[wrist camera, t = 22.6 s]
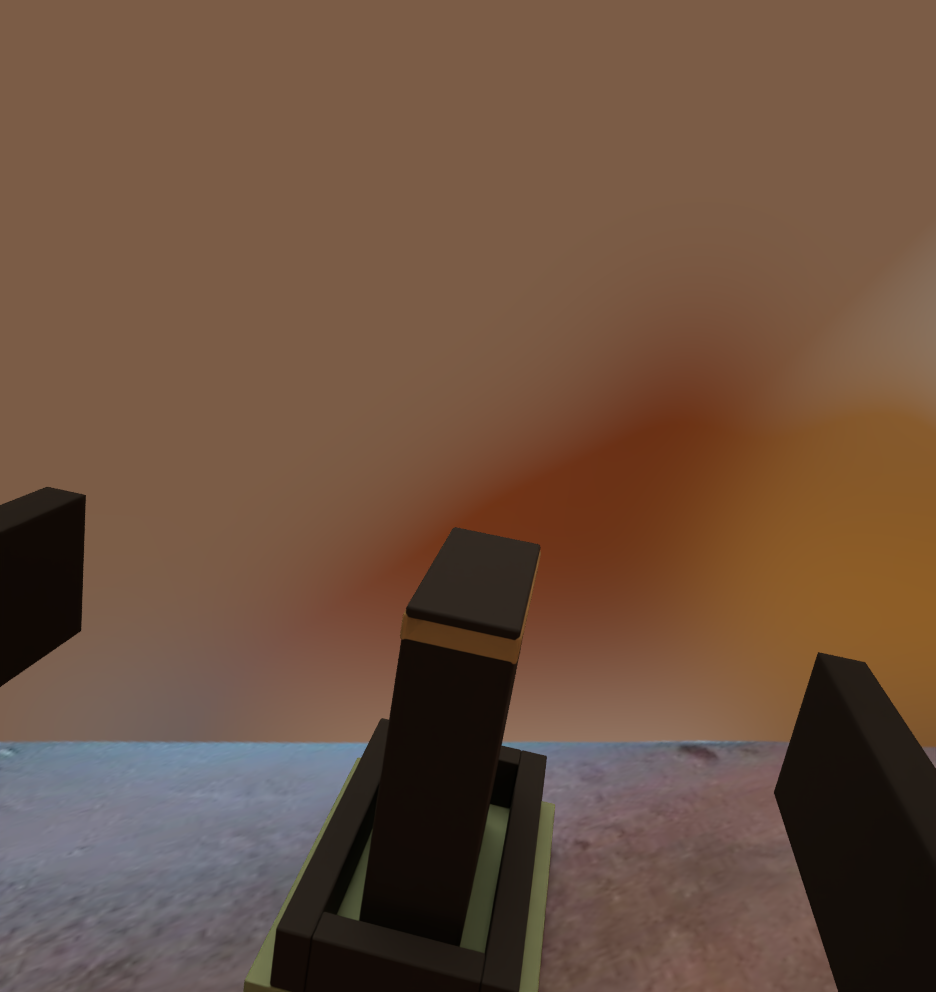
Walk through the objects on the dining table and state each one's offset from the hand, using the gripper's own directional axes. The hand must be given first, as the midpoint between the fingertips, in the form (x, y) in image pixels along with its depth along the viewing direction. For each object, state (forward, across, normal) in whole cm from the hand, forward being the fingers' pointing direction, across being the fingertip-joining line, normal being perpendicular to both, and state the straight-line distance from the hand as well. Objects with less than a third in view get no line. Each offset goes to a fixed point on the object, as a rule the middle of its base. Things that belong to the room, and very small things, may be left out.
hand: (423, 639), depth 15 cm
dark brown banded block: (+10, 0, -13) cm, 16 cm away
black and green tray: (+10, 0, -15) cm, 18 cm away
